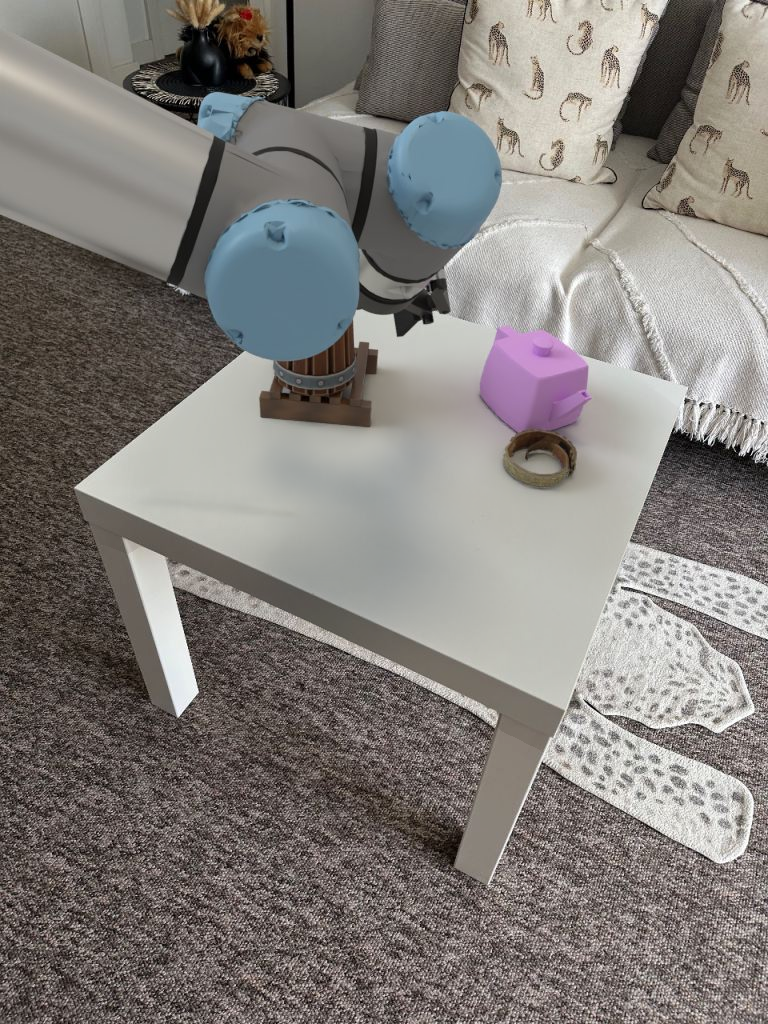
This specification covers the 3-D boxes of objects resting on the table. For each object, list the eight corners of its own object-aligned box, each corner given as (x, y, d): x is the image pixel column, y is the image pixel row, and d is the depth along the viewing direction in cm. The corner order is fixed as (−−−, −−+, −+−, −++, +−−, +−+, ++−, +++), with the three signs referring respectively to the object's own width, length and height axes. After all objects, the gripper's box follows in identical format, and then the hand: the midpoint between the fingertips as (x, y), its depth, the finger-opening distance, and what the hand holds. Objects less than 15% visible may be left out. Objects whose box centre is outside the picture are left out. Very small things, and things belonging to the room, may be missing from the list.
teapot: (602, 438, 92) (626, 370, 85) (538, 458, 88) (557, 389, 81) (520, 368, 103) (535, 303, 96) (460, 383, 99) (471, 316, 92)
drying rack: (260, 417, 90) (258, 390, 87) (278, 359, 100) (277, 333, 98) (369, 427, 90) (371, 401, 87) (377, 368, 100) (378, 343, 98)
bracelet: (580, 458, 88) (586, 439, 86) (563, 499, 83) (569, 480, 81) (513, 437, 91) (518, 418, 89) (492, 475, 85) (496, 456, 83)
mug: (338, 407, 86) (341, 291, 76) (259, 387, 88) (251, 271, 78) (379, 346, 97) (386, 237, 87) (307, 329, 99) (306, 221, 89)
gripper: (246, 314, 55) (233, 374, 76) (532, 291, 62) (449, 352, 82) (231, 219, 55) (222, 305, 76) (519, 206, 62) (439, 289, 82)
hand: (340, 330), depth 79 cm, fingers open, 13 cm apart
